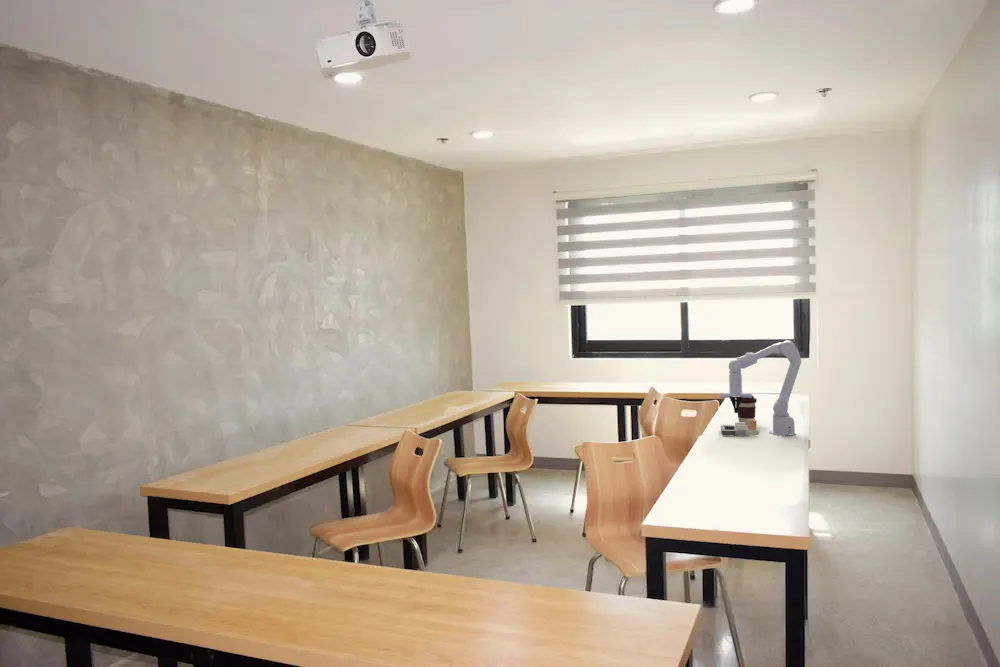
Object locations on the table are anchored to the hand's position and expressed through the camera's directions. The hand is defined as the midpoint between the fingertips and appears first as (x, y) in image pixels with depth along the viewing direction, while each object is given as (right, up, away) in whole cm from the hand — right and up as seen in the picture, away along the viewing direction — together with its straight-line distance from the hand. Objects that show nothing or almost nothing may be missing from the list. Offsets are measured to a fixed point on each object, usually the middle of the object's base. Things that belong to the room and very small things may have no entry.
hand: (736, 412), depth 355 cm
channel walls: (+2, -7, -3) cm, 8 cm away
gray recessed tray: (-2, -10, -2) cm, 10 cm away
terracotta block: (+6, -7, -4) cm, 10 cm away
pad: (+6, -10, -4) cm, 12 cm away
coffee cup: (+10, -8, +15) cm, 20 cm away
